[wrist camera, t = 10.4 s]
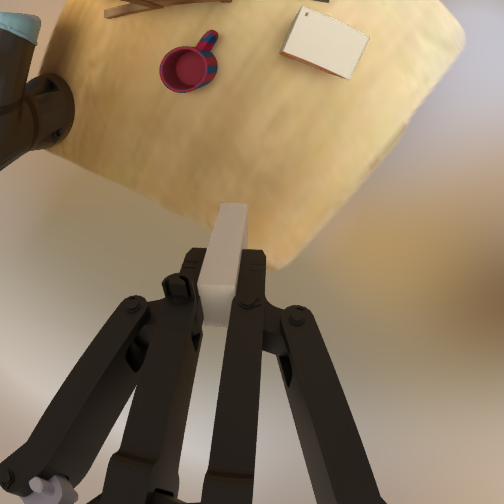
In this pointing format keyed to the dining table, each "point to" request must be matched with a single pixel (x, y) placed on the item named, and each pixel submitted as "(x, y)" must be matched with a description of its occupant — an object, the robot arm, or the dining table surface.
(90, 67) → the dining table surface
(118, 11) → the tunnel
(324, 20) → the small box
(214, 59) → the mug
